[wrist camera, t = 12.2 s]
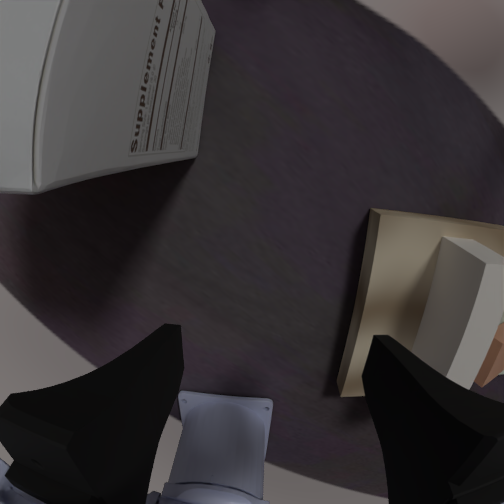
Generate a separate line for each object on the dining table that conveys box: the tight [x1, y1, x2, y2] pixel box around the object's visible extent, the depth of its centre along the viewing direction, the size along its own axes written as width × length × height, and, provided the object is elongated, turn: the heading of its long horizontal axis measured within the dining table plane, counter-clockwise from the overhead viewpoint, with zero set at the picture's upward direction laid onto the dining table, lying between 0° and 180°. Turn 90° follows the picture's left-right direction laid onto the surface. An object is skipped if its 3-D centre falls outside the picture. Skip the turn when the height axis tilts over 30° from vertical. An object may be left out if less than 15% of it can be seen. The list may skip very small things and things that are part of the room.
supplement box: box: [0, 0, 215, 195], centre depth 10 cm, size 9×9×15 cm
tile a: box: [474, 323, 504, 387], centre depth 20 cm, size 4×4×2 cm
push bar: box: [411, 236, 504, 390], centre depth 17 cm, size 12×3×5 cm, turn 177°
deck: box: [336, 208, 504, 397], centre depth 20 cm, size 14×12×2 cm
